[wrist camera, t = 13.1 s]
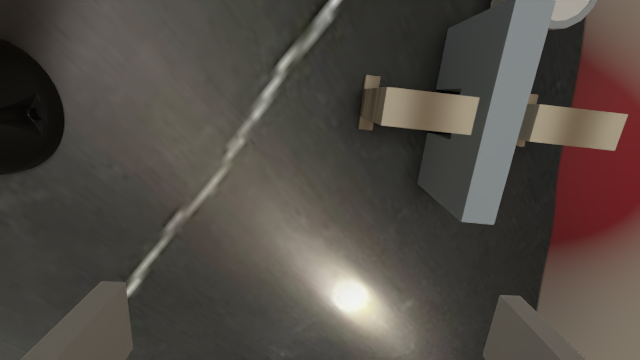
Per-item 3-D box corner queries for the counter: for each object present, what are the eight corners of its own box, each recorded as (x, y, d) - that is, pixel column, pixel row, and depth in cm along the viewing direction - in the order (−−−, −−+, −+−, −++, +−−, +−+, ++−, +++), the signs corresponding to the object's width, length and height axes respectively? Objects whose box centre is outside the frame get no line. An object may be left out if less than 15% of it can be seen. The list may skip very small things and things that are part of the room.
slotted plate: (440, 186, 39) (493, 224, 28) (417, 183, 39) (461, 221, 27) (474, 31, 34) (556, 0, 23) (448, 28, 34) (516, -5, 23)
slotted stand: (357, 128, 37) (378, 143, 25) (364, 75, 35) (390, 66, 24) (518, 145, 38) (608, 167, 26) (532, 94, 36) (635, 95, 25)
